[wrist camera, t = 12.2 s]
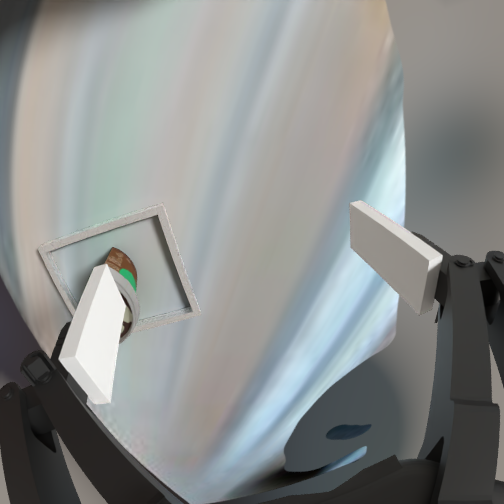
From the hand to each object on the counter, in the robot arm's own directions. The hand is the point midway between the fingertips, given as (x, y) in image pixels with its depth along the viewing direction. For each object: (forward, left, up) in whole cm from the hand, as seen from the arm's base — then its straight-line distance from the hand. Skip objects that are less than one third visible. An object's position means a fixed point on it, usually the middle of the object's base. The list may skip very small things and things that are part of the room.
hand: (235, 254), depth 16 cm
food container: (+13, -16, -26) cm, 33 cm away
